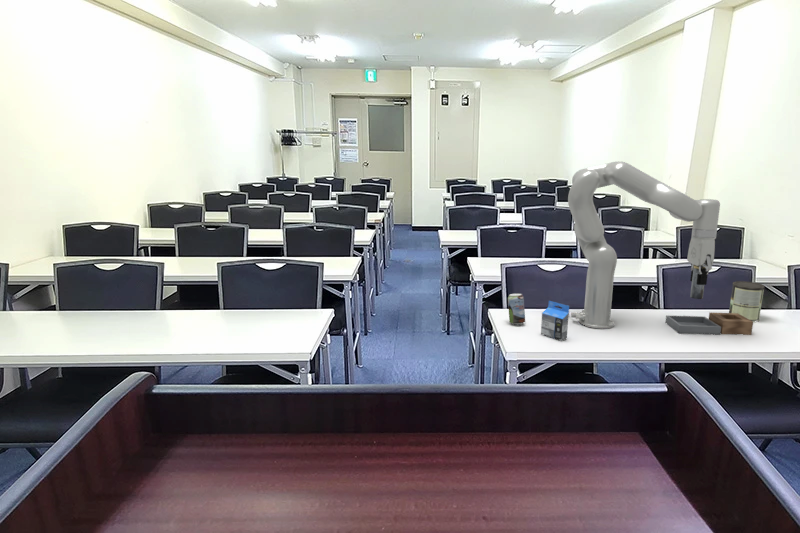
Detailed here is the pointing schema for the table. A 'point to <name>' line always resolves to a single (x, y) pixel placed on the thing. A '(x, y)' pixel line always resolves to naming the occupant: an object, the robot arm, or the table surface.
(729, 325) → the block
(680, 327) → the tray
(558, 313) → the label tape cartridge
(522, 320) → the beverage can
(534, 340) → the table surface
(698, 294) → the steel pin
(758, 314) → the coffee can
